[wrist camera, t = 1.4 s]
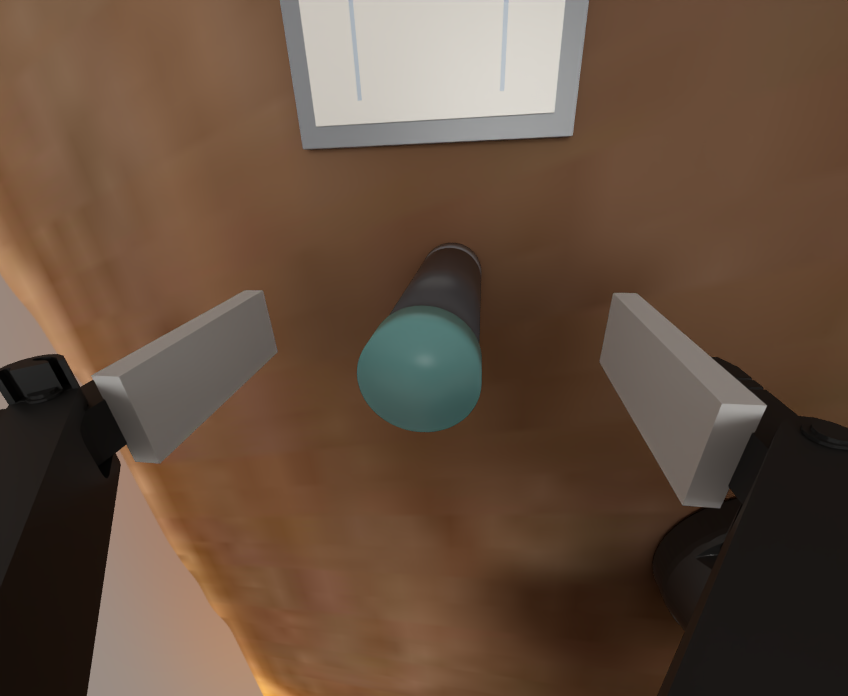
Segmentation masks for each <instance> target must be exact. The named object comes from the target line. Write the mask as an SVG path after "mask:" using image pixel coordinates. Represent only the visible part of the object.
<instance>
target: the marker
mask: <svg viewBox="0 0 848 696" xmlns="http://www.w3.org/2000/svg"><path fill="white" fill-rule="evenodd" d="M480 301H481V265H480V262H479V260H478V258H477V256H476V255H475V253H474V252H473V251H472V250H471V249H469V248H468V247H466V246H464V245H462V244H458V243H446V244H442V245H440V246H438V247H436V248H434V249H433V250H432V251H431V252H430V253H429V254H428V256H427V257H426V259H425V260H424V262H423V264H422V265H421V267H420V268H419V270H418V271H417V273H416V274H415V276H414V278H413V279H412V281H411V282H410V284H409V285H408V287H407V288H406V290H405V292H404V293H403V295H402V296H401V298H400V299H399V301H398V302H397V304H396V306H395V307H394V309H393V310H392V312H391V313H390V315H389V316H388V317H387V318H386V319H385V320H384V321H383V322H382V323H381V324H380V325H379V326H378V328H377V329H376V331H375V332H374V334H373V335H372V337H371V338H370V340H369V341H368V343H367V344H366V346H365V348H364V349H363V351H362V353H361V355H360V358H359V361H358V366H357V379H358V384H359V388H360V391H361V393H362V395H363V397H364V399H365V401H366V402H367V404H368V405H369V406H370V407H371V408H372V410H373V411H374V412H375V413H376V414H378V415H379V416H380V417H381V418H383V419H384V420H386V421H387V422H389V423H391V424H393V425H395V426H397V427H400V428H403V429H406V430H410V431H416V432H434V431H440V430H444V429H447V428H450V427H452V426H454V425H456V424H457V423H459V422H461V421H462V420H463V419H464V418H466V417H467V416H468V415H469V414H470V412H471V411H472V410H473V408H474V407H475V405H476V403H477V401H478V399H479V396H480V392H481V383H482V354H481V349H480V345H479V335H480Z"/></svg>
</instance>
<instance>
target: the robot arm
mask: <svg viewBox="0 0 848 696" xmlns="http://www.w3.org/2000/svg"><path fill="white" fill-rule="evenodd" d="M277 352H278V351H277V347H276V343H275V338H274V334H273V330H272V326H271V322H270V318H269V314H268V309H267V305H266V301H265V297H264V293H263V290H245V291H243V292H241V293H239V294H238V295H236V296H234V297H232V298H230V299H229V300H227V301H225V302H223V303H221V304H220V305H218V306H216V307H214V308H212V309H211V310H209V311H207V312H205V313H203V314H202V315H200V316H198V317H196V318H194V319H192V320H191V321H189V322H187V323H185V324H183V325H182V326H180V327H178V328H176V329H174V330H173V331H171V332H169V333H167V334H165V335H164V336H162V337H160V338H158V339H156V340H155V341H153V342H151V343H149V344H147V345H146V346H144V347H142V348H140V349H138V350H137V351H135V352H133V353H131V354H129V355H128V356H126V357H124V358H122V359H120V360H118V361H117V362H115V363H113V364H111V365H109V366H108V367H106V368H104V369H102V370H100V371H99V372H97V373H95V374H93V375H91V376H92V378H93V380H92V381H90V382H88V383H87V384H85V385H83V386H81V387H80V386H79V384H78V382H77V380H76V378H75V376H74V375H73V373H72V371H71V369H70V367H69V365H68V363H67V362H66V360H65V358H64V356H62V355H59V354H48V355H42V356H36V357H32V358H27V359H24V360H20V361H17V362H15V363H12V364H9V365H7V366H4V367H2V368H0V392H1V393H2V395H3V396H4V398H5V400H6V401H7V403H8V404H9V406H8V407H7V409H1V410H0V696H87V690H88V683H89V677H90V669H91V663H92V656H93V649H94V643H95V636H96V629H97V622H98V615H99V609H100V601H101V595H102V588H103V581H104V574H105V568H106V561H107V554H108V547H109V541H110V534H111V526H112V521H113V514H114V507H115V500H116V493H117V486H118V480H119V473H120V466H121V464H120V461H119V459H118V457H117V455H116V452H117V451H119V450H120V449H121V448H122V447H124V446H125V445H126V444H127V446H128V448H129V450H130V452H131V454H132V456H133V458H134V460H135V462H148V463H161V462H162V461H163V460H164V459H165V458H166V457H167V456H168V455H169V454H170V453H172V452H173V451H174V450H175V449H176V448H177V447H178V446H179V445H180V444H181V443H182V442H183V441H184V440H185V439H186V438H187V437H188V436H190V435H191V434H192V433H193V432H194V431H195V430H196V429H197V428H198V427H199V426H200V425H201V424H202V423H203V422H204V421H205V420H206V419H207V418H209V417H210V416H211V415H212V414H213V413H214V412H215V411H216V410H217V409H218V408H219V407H220V406H221V405H222V404H223V403H224V402H225V401H227V400H228V399H229V398H230V397H231V396H232V395H233V394H234V393H235V392H236V391H237V390H238V389H239V388H240V387H241V386H242V385H243V384H245V383H246V382H247V381H248V380H249V379H250V378H251V377H252V376H253V375H254V374H255V373H256V372H257V371H258V370H259V369H260V368H261V367H262V366H264V365H265V364H266V363H267V362H268V361H269V360H270V359H271V358H272V357H273V356H274V355H275V354H276V353H277ZM600 364H601V366H602V368H603V369H604V371H605V373H606V374H607V376H608V378H609V380H610V381H611V383H612V385H613V387H614V388H615V390H616V392H617V393H618V395H619V397H620V399H621V400H622V402H623V404H624V406H625V407H626V409H627V411H628V412H629V414H630V416H631V418H632V419H633V421H634V423H635V424H636V426H637V428H638V430H639V431H640V433H641V435H642V437H643V438H644V440H645V442H646V443H647V445H648V447H649V449H650V450H651V452H652V454H653V456H654V457H655V459H656V461H657V462H658V464H659V466H660V468H661V469H662V471H663V473H664V474H665V476H666V478H667V480H668V481H669V483H670V485H671V487H672V488H673V490H674V492H675V493H676V495H677V497H678V499H679V500H680V502H681V504H682V505H684V506H696V507H709V508H706V509H704V510H702V511H700V512H698V513H696V514H694V515H692V516H690V517H689V518H687V519H685V520H684V521H682V522H681V523H680V524H678V525H677V526H676V527H675V528H673V529H672V530H671V531H670V532H669V533H668V534H667V535H666V536H665V538H664V539H663V540H662V541H661V543H660V544H659V546H658V548H657V550H656V552H655V555H654V559H653V574H654V578H655V581H656V583H657V585H658V588H659V590H660V593H661V595H662V597H663V600H664V602H665V604H666V606H667V608H668V610H669V612H670V613H671V615H672V616H673V617H674V619H675V620H676V621H677V622H678V624H679V625H680V626H681V627H682V628H683V630H684V631H685V633H684V635H683V637H682V640H681V642H680V644H679V647H678V649H677V651H676V653H675V656H674V658H673V660H672V663H671V665H670V667H669V670H668V672H667V674H666V677H665V679H664V681H663V683H662V686H661V688H660V690H659V693H658V695H657V696H848V428H846V427H843V426H841V425H838V424H836V423H833V422H829V421H825V420H821V419H817V418H813V417H803V416H798V415H797V414H795V413H794V412H793V411H792V410H790V409H789V408H788V407H787V406H785V405H784V404H783V403H782V402H781V401H779V400H778V399H777V398H776V397H774V396H773V395H772V394H771V393H769V392H768V391H767V390H763V387H762V386H761V385H760V384H758V383H757V382H756V381H755V380H752V378H751V377H750V376H748V375H747V374H746V373H745V372H744V371H742V370H741V369H740V368H739V367H737V366H735V365H733V364H731V363H729V362H727V361H724V360H722V359H720V358H718V357H710V356H709V355H708V354H707V353H706V352H704V351H703V350H702V349H701V348H700V347H699V346H697V345H696V344H695V343H694V342H693V341H692V340H690V339H689V338H688V337H687V336H686V335H685V334H684V333H682V332H681V331H680V330H679V329H678V328H677V327H675V326H674V325H673V324H672V323H671V322H670V321H668V320H667V319H666V318H665V317H664V316H663V315H662V314H660V313H659V312H658V311H657V310H656V309H655V308H653V307H652V306H651V305H650V304H649V303H648V302H646V301H645V300H644V299H643V298H642V297H641V296H640V295H638V294H637V293H613V296H612V301H611V306H610V311H609V316H608V321H607V326H606V331H605V337H604V342H603V347H602V352H601V357H600ZM729 488H730V489H731V490H732V492H733V493H734V494H735V496H736V497H737V498H738V499H734V500H730V501H726V502H723V501H724V499H725V497H726V494H727V492H728V490H729Z"/></svg>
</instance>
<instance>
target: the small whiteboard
mask: <svg viewBox="0 0 848 696" xmlns="http://www.w3.org/2000/svg"><path fill="white" fill-rule="evenodd" d="M588 3H589V0H280V4H281V10H282V17H283V23H284V30H285V36H286V43H287V49H288V55H289V62H290V68H291V75H292V81H293V88H294V94H295V100H296V107H297V113H298V120H299V126H300V133H301V139H302V145H303V149H307V150H314V149H334V148H355V147H375V146H395V145H415V144H436V143H456V142H476V141H496V140H517V139H537V138H557V137H570V136H573V128H574V120H575V111H576V103H577V95H578V86H579V78H580V70H581V61H582V53H583V45H584V36H585V28H586V20H587V11H588Z"/></svg>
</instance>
